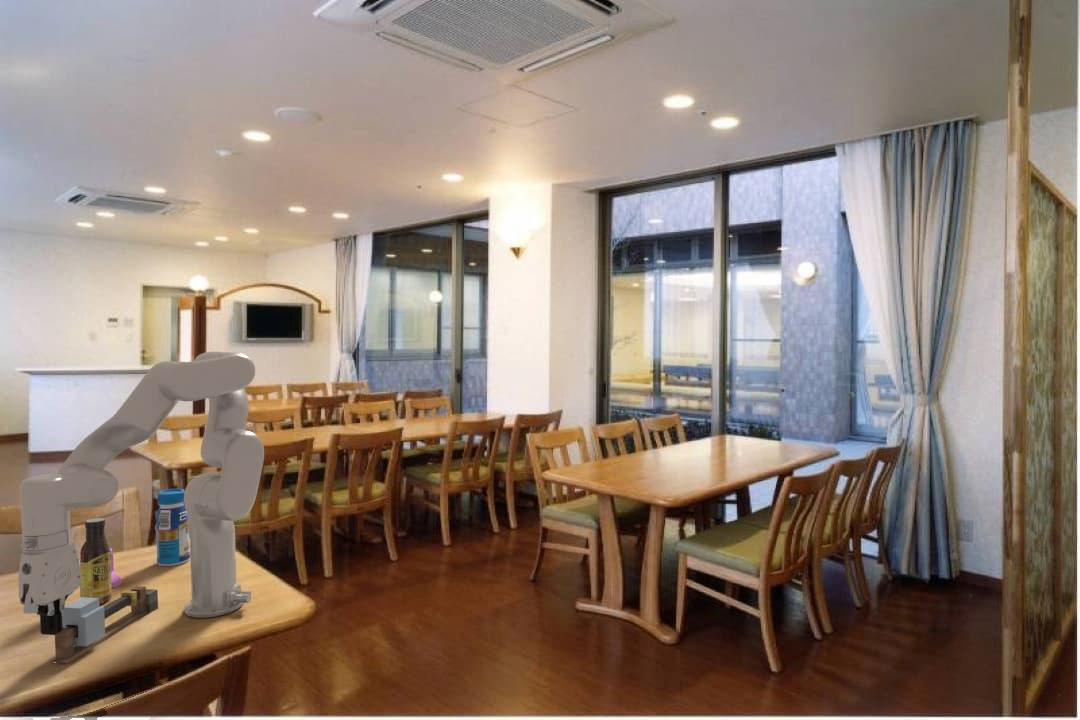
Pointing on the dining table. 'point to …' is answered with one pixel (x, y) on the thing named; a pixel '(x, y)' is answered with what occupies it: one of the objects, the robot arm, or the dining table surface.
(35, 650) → the dining table surface
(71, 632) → the stand
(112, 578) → the bracket
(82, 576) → the sauce bottle
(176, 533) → the beverage bottle
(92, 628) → the notched grey cube
